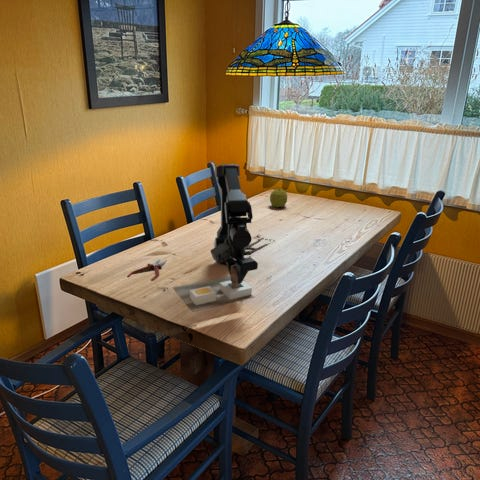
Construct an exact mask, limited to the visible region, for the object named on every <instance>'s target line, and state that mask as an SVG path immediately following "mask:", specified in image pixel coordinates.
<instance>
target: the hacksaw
mask: <svg viewBox="0 0 480 480" xmlns="http://www.w3.org/2000/svg"><path fill="white" fill-rule="evenodd" d="M256 237H257V238H258V237H259V238H260V239H259V238H258V239H257V240H258V241H257V240H256V241H254V242H251V243H250V244H249V245H248V246H247V247H245V250H247V252H248V254H247V255H248V256H249V255H252V254H253V253H255V252H258V250H260V249H262V248H264V247H266V246H268V245H269V244H266V243H264V244H263V245H260V246H259V247H257V248H256V247H253V246H254V244H255V245H256V244H258V243H260V242H261V241H263V240H264V238H265V237H264V238H263V237H260V236H259V234H257V235H256ZM268 239H269V238H265V240H264V241H271V239H269V240H268ZM272 240H273V241H274V242H275V240H274V239H272Z"/></svg>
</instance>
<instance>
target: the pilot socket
mask: <svg viewBox="0 0 480 480" xmlns="http://www.w3.org/2000/svg"><path fill="white" fill-rule="evenodd" d="M220 290H221V291H222V292H223V293H224V294H225V295H226V296H227V297H228V298H229V299H235V298H239V297H243V296H247V295H253V292H252V291H253V287H252V286H251V285H249V284H248V283H247V282H245V281H244V280H243V281H242V283H240V288H236V289H232V281H231V280H230V281H225V282H221V283H220Z"/></svg>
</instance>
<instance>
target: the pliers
mask: <svg viewBox="0 0 480 480" xmlns="http://www.w3.org/2000/svg"><path fill="white" fill-rule="evenodd" d="M167 261H168V260H167V259H165V260H161V258H159V259H158V260H156V261H154V262H153V264H151V263H148V264H146V266H144V267H143V266H142V267H141V268H137V269H135V270H133V271H131V272H130V273H129V274H128V275H127V276H126V278H130V277H131V276H133V275H137V274H138V275H139V274H143V273H144V274H145V273H147V272H150V271H155V275H154V276H153V277H152V278H151V279H150V281H151V282H154V281H155V280H157V279H158V278H159V277H160V271H159V270H162V266H163V265H165V263H166V262H167Z"/></svg>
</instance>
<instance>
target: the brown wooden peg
mask: <svg viewBox="0 0 480 480" xmlns="http://www.w3.org/2000/svg"><path fill="white" fill-rule="evenodd" d="M233 266H235V265H231V279H230V280H231V281H232V289H236V288H240V284H238V280H237V270H236V269H235V268H233Z"/></svg>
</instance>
